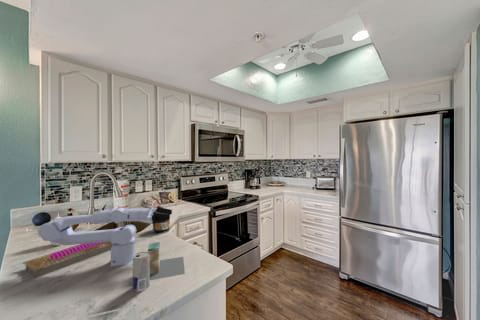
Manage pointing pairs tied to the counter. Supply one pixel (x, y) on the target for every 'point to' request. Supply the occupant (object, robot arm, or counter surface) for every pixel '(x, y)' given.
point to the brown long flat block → (63, 253)
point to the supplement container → (161, 226)
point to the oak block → (154, 257)
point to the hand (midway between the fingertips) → (170, 214)
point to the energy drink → (141, 271)
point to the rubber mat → (169, 268)
